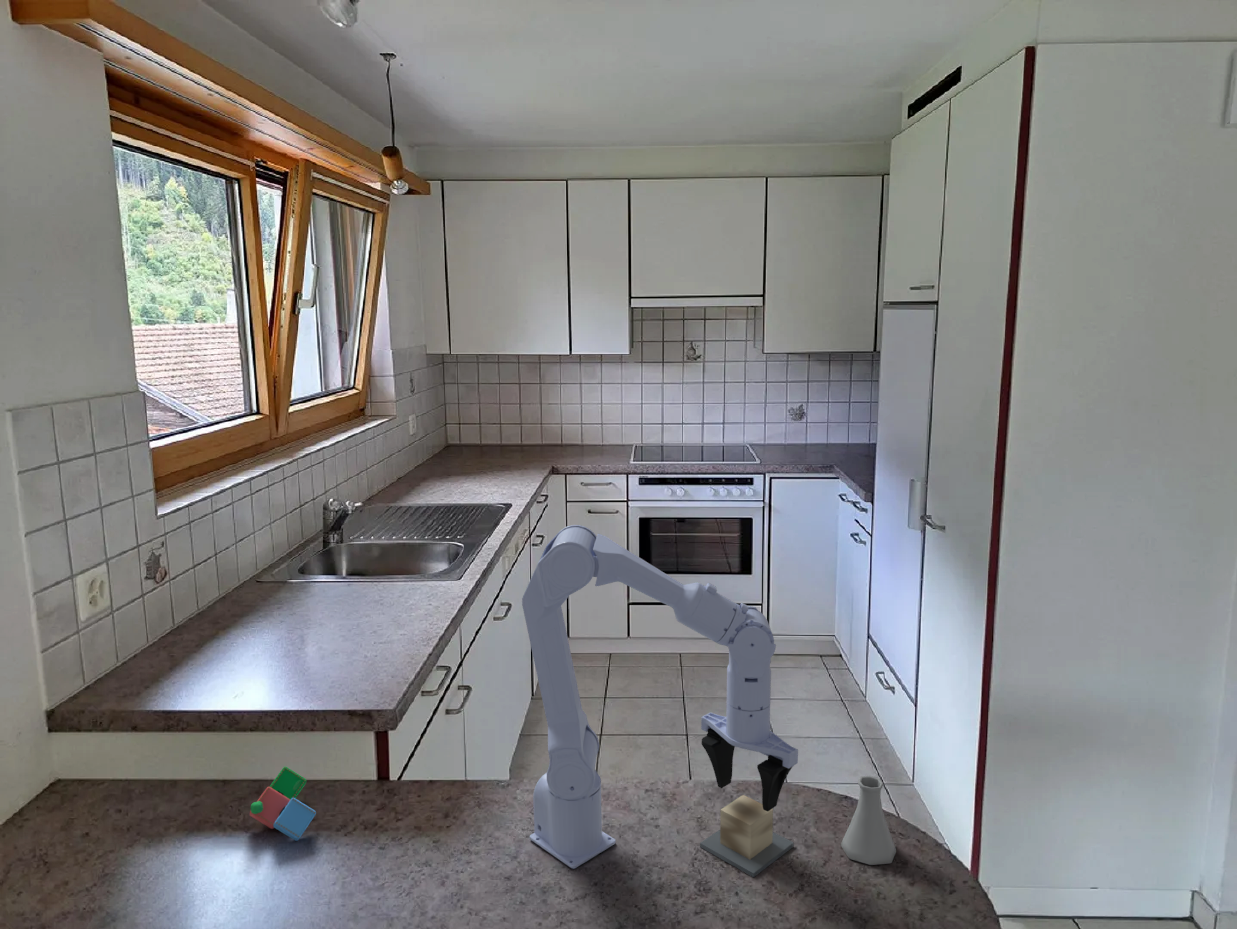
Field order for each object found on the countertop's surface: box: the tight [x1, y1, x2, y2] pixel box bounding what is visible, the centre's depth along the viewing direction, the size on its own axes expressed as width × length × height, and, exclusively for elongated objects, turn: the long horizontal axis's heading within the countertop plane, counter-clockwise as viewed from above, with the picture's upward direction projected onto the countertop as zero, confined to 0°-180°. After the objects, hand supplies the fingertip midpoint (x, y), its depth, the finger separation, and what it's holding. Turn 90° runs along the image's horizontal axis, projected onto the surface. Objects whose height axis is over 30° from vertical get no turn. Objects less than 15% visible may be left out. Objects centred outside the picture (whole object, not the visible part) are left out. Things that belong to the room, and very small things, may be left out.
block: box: [719, 794, 774, 859], centre depth 113 cm, size 5×5×5 cm
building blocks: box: [249, 766, 317, 842], centre depth 120 cm, size 8×8×12 cm
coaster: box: [699, 829, 795, 878], centre depth 114 cm, size 9×9×1 cm
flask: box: [840, 775, 897, 866], centre depth 112 cm, size 7×7×10 cm
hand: (746, 796), depth 113 cm, fingers open, 7 cm apart
